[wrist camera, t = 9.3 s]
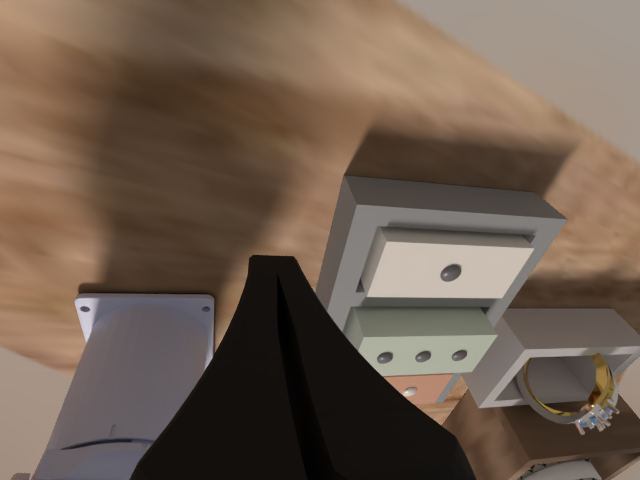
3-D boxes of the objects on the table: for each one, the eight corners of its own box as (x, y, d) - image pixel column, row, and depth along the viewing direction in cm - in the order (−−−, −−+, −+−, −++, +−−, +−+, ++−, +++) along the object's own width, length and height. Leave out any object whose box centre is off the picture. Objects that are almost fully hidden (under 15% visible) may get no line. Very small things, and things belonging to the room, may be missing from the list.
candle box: (529, 432, 48) (572, 505, 42) (430, 441, 45) (460, 522, 38) (596, 367, 40) (661, 445, 34) (480, 372, 36) (530, 460, 30)
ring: (563, 311, 32) (641, 400, 26) (576, 325, 34) (652, 411, 28) (493, 354, 34) (548, 444, 28) (508, 365, 36) (564, 453, 30)
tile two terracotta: (420, 370, 33) (434, 404, 30) (320, 374, 31) (327, 411, 28) (437, 341, 31) (454, 375, 28) (330, 343, 28) (338, 380, 26)
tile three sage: (452, 337, 28) (472, 373, 26) (338, 339, 26) (348, 378, 24) (475, 299, 26) (498, 336, 24) (351, 299, 24) (364, 338, 22)
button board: (429, 372, 35) (442, 402, 33) (294, 377, 32) (299, 412, 30) (535, 192, 24) (567, 219, 21) (343, 175, 21) (357, 204, 18)
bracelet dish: (562, 362, 38) (591, 400, 35) (457, 367, 35) (478, 408, 32) (612, 308, 33) (650, 345, 30) (496, 308, 31) (525, 349, 27)
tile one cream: (478, 266, 26) (502, 299, 24) (354, 262, 24) (367, 298, 21) (505, 218, 24) (535, 249, 21) (370, 209, 21) (387, 242, 19)
